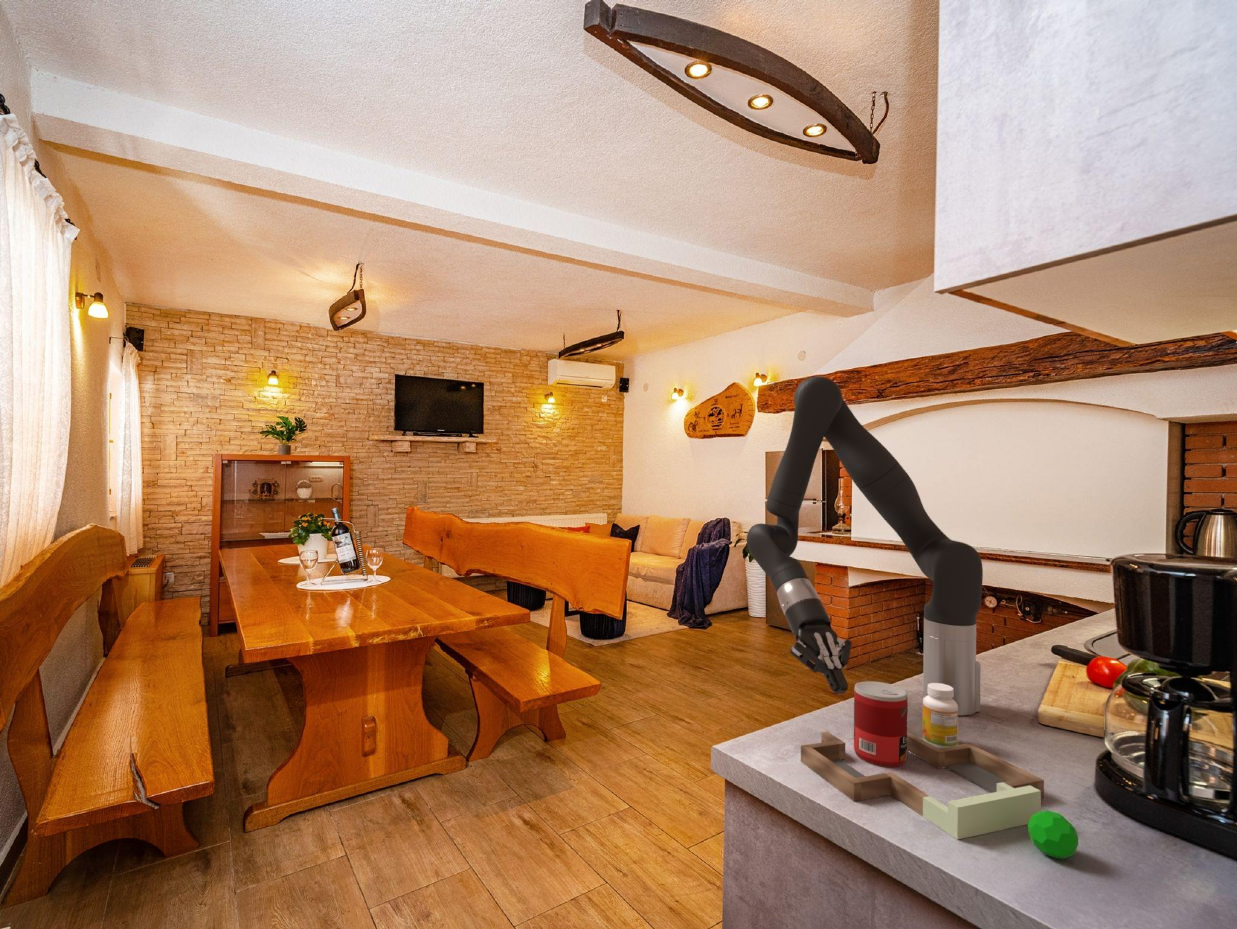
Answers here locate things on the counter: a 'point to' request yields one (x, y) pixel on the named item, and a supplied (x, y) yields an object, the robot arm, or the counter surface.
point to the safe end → (984, 811)
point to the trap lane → (893, 785)
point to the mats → (964, 770)
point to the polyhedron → (1053, 834)
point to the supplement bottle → (940, 716)
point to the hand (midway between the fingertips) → (842, 691)
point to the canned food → (880, 723)
